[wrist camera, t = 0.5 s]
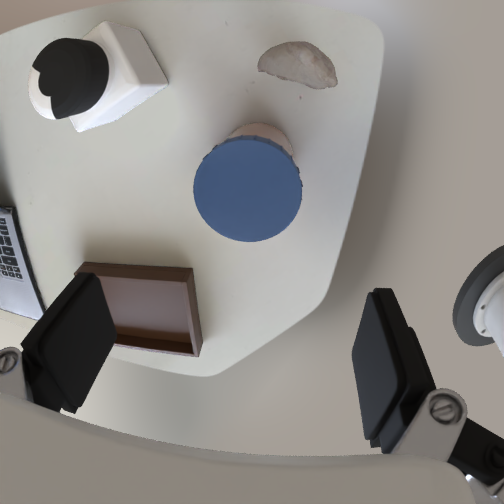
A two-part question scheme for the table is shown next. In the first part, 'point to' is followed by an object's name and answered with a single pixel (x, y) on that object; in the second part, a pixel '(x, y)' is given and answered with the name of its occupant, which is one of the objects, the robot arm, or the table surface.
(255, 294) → the table surface
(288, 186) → the lid
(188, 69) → the table surface
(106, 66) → the medicine bottle
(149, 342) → the tray
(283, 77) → the fossil
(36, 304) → the laptop
